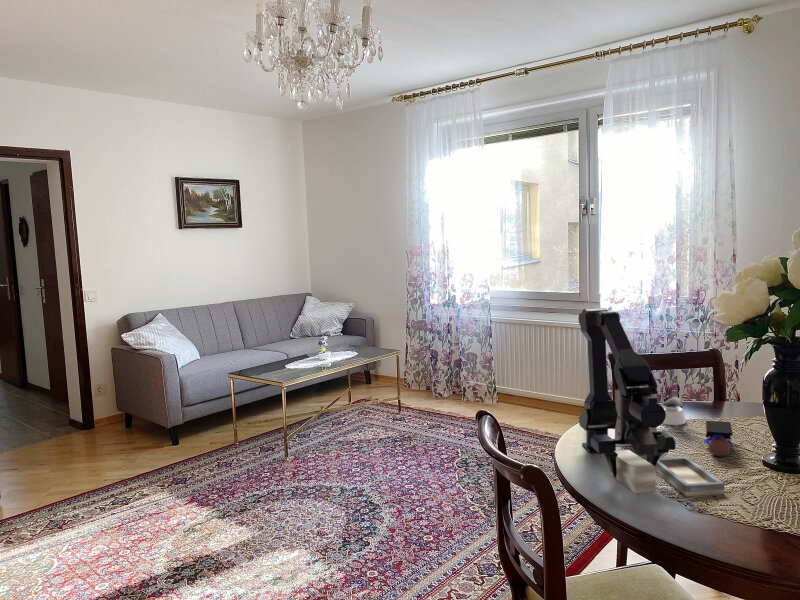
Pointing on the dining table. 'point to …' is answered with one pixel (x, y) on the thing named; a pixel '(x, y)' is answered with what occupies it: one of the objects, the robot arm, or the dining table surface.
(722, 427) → the figurine character
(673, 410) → the inkwell
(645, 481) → the block
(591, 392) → the robot arm
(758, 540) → the dining table surface
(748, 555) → the dining table surface
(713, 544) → the dining table surface
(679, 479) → the jig board
